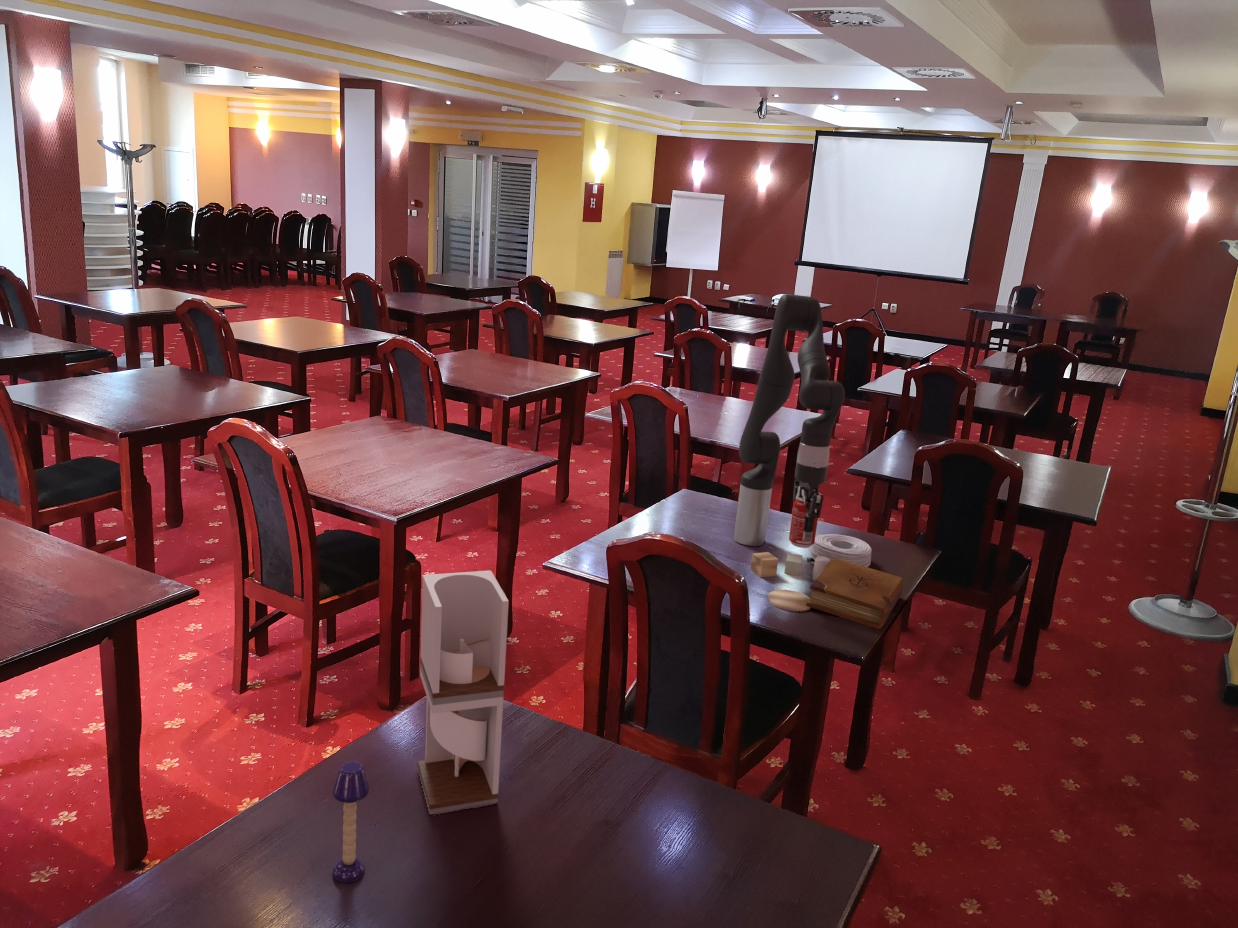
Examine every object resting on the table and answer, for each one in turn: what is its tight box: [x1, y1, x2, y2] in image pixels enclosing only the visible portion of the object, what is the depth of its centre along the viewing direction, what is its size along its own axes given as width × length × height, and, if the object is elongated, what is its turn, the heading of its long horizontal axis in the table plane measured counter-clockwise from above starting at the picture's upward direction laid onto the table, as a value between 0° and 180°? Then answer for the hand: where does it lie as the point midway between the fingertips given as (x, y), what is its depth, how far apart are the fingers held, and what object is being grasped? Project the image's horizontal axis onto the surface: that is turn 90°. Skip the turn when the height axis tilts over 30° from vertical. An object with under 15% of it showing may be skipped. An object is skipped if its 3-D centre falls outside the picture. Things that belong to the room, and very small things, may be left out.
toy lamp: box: [332, 761, 370, 884], centre depth 122 cm, size 5×5×17 cm
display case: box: [417, 570, 510, 815], centre depth 139 cm, size 11×11×35 cm
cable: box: [806, 533, 872, 568], centre depth 255 cm, size 18×18×6 cm
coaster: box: [767, 589, 812, 613], centre depth 225 cm, size 11×11×1 cm
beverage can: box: [788, 497, 819, 549], centre depth 221 cm, size 6×6×12 cm
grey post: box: [811, 556, 831, 582], centre depth 239 cm, size 4×4×6 cm
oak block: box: [750, 551, 779, 578], centre depth 241 cm, size 5×5×5 cm
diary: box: [806, 558, 905, 630], centre depth 226 cm, size 23×19×6 cm
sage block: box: [783, 552, 804, 577], centre depth 244 cm, size 6×4×4 cm, turn 165°
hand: (803, 527), depth 221 cm, fingers closed on beverage can, 6 cm apart
